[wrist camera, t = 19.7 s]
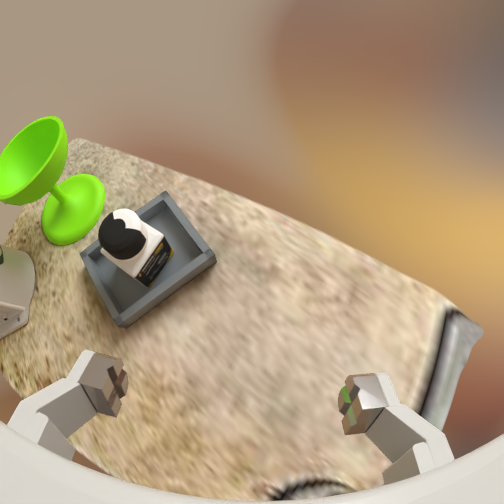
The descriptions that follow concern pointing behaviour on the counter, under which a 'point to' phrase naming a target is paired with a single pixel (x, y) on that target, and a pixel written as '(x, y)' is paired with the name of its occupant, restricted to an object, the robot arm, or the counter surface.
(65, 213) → the wineglass
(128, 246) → the medicine bottle
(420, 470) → the robot arm
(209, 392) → the counter surface
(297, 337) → the counter surface
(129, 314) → the parts tray
